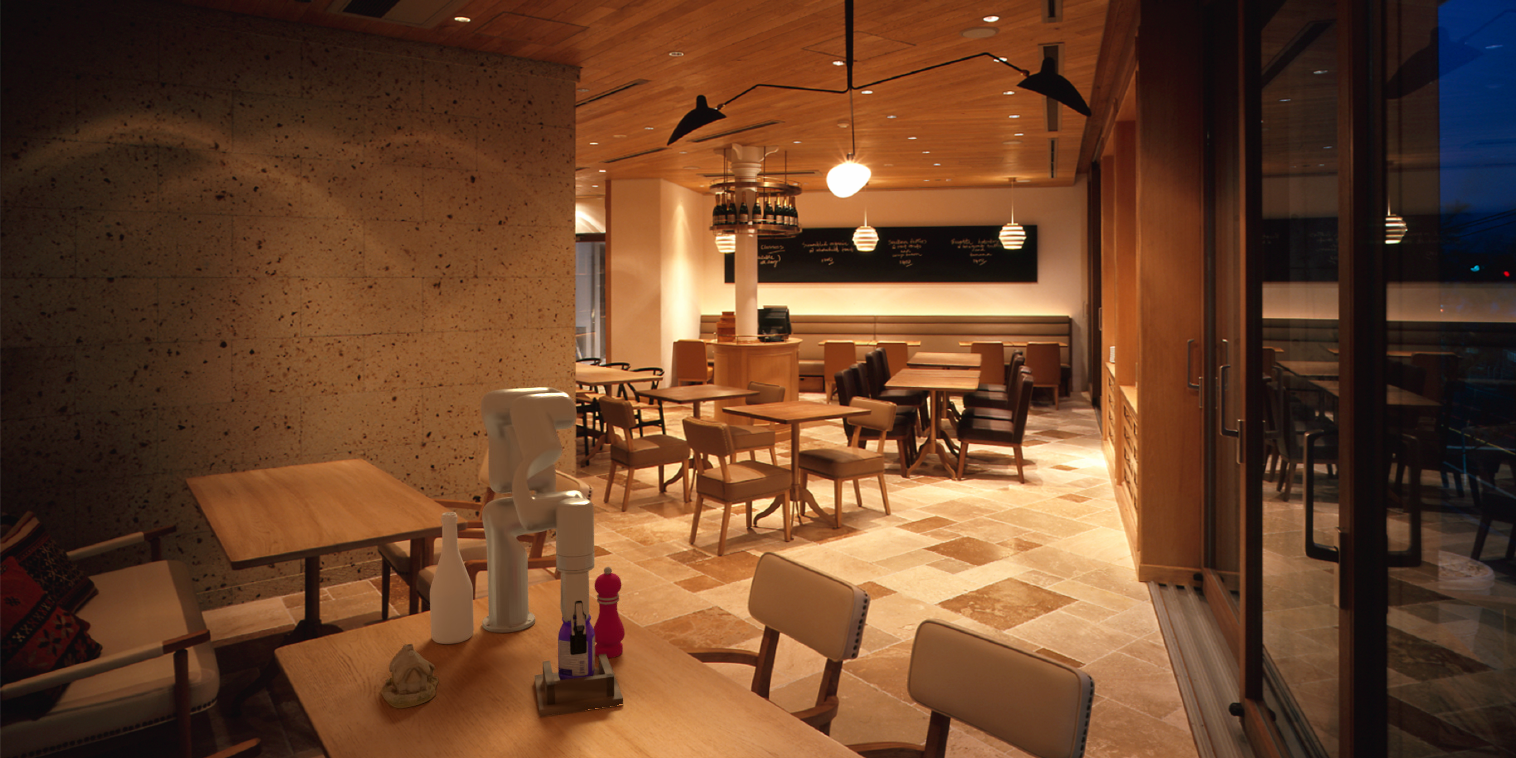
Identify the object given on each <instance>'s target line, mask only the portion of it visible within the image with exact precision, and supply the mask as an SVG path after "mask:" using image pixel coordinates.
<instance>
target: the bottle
mask: <svg viewBox="0 0 1516 758" xmlns="http://www.w3.org/2000/svg"><path fill="white" fill-rule="evenodd" d="M573 619H576V616H574V617H573ZM591 620H592V616H591V615H590V613H589V618H588V619H587V620H585V626H586V634H587V652H586V653H585V654H577V655H571V654H570V635H571V621H568V622H565V621H564V620H563V616H562V617H561V621H562V625H561V626H560V629H559V631H558V636H557V641H558V642H557V644H558V645H557V647H558V648H557V651H558V654H557V655H558V656H557V657H558V658H557V659H558V660H557V661H558V663H557V664H558V665H557V666H558V668H557V669H558V671H557V672H558V675H559V678H560V680H565V679H573V678H581V677H589V676H593V675H594V671H595V667H596V655H595V645H596V642H595V633H594V626H592V624H591ZM575 625H576V623H574V627H575Z"/></svg>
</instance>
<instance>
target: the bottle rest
mask: <svg viewBox="0 0 1516 758" xmlns="http://www.w3.org/2000/svg"><path fill="white" fill-rule="evenodd" d="M614 672H615V671H614V669H613V667H612V665H611V663H610V661H609V658H607V655H606V654H600V655H599V657H598V666H597V667H596V666H595V671H594V675H593V676H589V677H581V678H573V679H565V680H560V678H559V675H558V671H556V672H553V668H552V663H551V660H545V661H542V674H534V687H535V693H536V700H537V707H538V713H539V718H544V717H552V716H558V714H559V715H566V714H573V713H579V712H580V713H581V712H586V711H585V710H587V711H589V710H588V709H594V710H596V709H595V708H601V709H603V708H602V707H608V708H611V707H610V706H615V707H618V706H617V705H619V704H623V705H624V697H623V694H622V692H621V688H620V686H619V683H618V681H617V680H618V679H617V678H616V675H615V673H614Z"/></svg>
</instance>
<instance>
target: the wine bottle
mask: <svg viewBox="0 0 1516 758" xmlns="http://www.w3.org/2000/svg"><path fill="white" fill-rule="evenodd" d="M458 520H459V518H458V514H457V512H455V511H446V512H443V513H441V516H440V523H441V525H442V526H441V531H442V532H441V533H442V534H441V535H442V538H441V539H442V540H441V541H442V543H441V545H442V546H441V547H442V548H441V553H440V556H439V560H438V563H437V566H436V569H435V572H434V576H433V578H432V580H431V581H432V582H431V585H430V589H429V603H430V604H429V606H430V607H429V608H430V610H429V611H430V612H429V613H430V635H431V639H432V641H434V642H435V643H437V644H441V645H451V644H458V643H462V642H465V641H467V640H469V639H470V638H471V637H473V634H474V630H475V627H474V598H473V597H474V594H473V593H474V590H473V587H474V586H473V584H472V580H471V578H470V576H469V573H468V571H467V568H466V566H465V563H464V561H463V558H462V555H461V552H460V550H459V549H460V548H459V543H458V524H457V523H458V522H459V521H458Z"/></svg>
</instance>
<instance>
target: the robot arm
mask: <svg viewBox="0 0 1516 758" xmlns="http://www.w3.org/2000/svg"><path fill="white" fill-rule="evenodd" d="M575 404H576V403H575V401H574V400H573V399H572V397H571V396H570V395H569V393H567V392H565V391H563V390H559V389H557V388H555V387H548V386H547V387H542V386H541V387H527V388H526V387H525V388H524V387H520V388H504V389H503V388H501V389H496V390H491V391H488V392H486V393H485V394H484V395H483V396H482V398H481V400H480V414H481V415H480V416H481V419H482V420H481V421H482V423H483V426H484V428H485V431H486V434H487V441H488V446H487V449H488V450H487V451H488V459H487V461H488V464H487V465H488V483H489V487H490V489H491V490H492V491H493V492H494V493H497V494H512V496H504V497H501V498H500V497H499V498H496V499H492V500H490V501H489V502H487V503H486V504H485V505H484V507H483V509H482V513H481V520H482V527H483V530H484V536H485V542H486V543H485V545H486V563H487V566H486V567H487V601H488V603H487V604H488V605H487V607H488V615H487V616H485V617H484V618H483V620H482V621H481V624H482V625H481V626H482V628H483V629H484V630H486V631H488V632H492V633H500V634H501V633H502V634H503V633H505V634H506V633H512V632H514V633H515V632H518V631H523V630H526V629H527V628H529V627H531V626H533V625H534V624H535V623H536V616H535V614H534V613H533V612H530V610H529V609H530V608H529V571H528V570H529V567H528V566H529V564H528V563H529V562H528V561H529V560H528V552H527V550H526V547H525V546H524V545H523V543H521V542H520V540H518V539H517V537H518V536H523V535H527V534H528V535H529V534H535V533H541V532H546V531H549V530H555V561H556V562H555V563H556V565H555V566H556V567H555V568H556V570H557V571H558V572H559V573H560V600H559V601H560V603H559V606H560V611H561V612H560V613H561V616H562V617H563V620H564V621H565V622H568V621H571V635H570V654H571V655H577V654H585V653H586V652H587V634H586V626H585V620H587V619H588V618H589V614H590V571H592V570H593V569H594V568H595V508H594V504H593V502H592V501H591V500H590V499H588V498H587V496H585V494H584V493H583V492H581V491H579V490H576V489H570V490H569V489H568V490H562V491H561V490H560V491H557V472H556V471H557V470H556V466H555V463H556V462H557V461H558V460H560V458H561V456H562V454H563V445H562V443H561V440H560V436H559V435H558V431H557V430H567V429H571V428H572V427H573V426H574V425H575V423H576V420H577V415H578V414H577V407H576V405H575ZM533 491H534V493H532V492H533ZM574 616H576V619H573V617H574ZM574 623H576V625H575V627H574Z"/></svg>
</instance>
